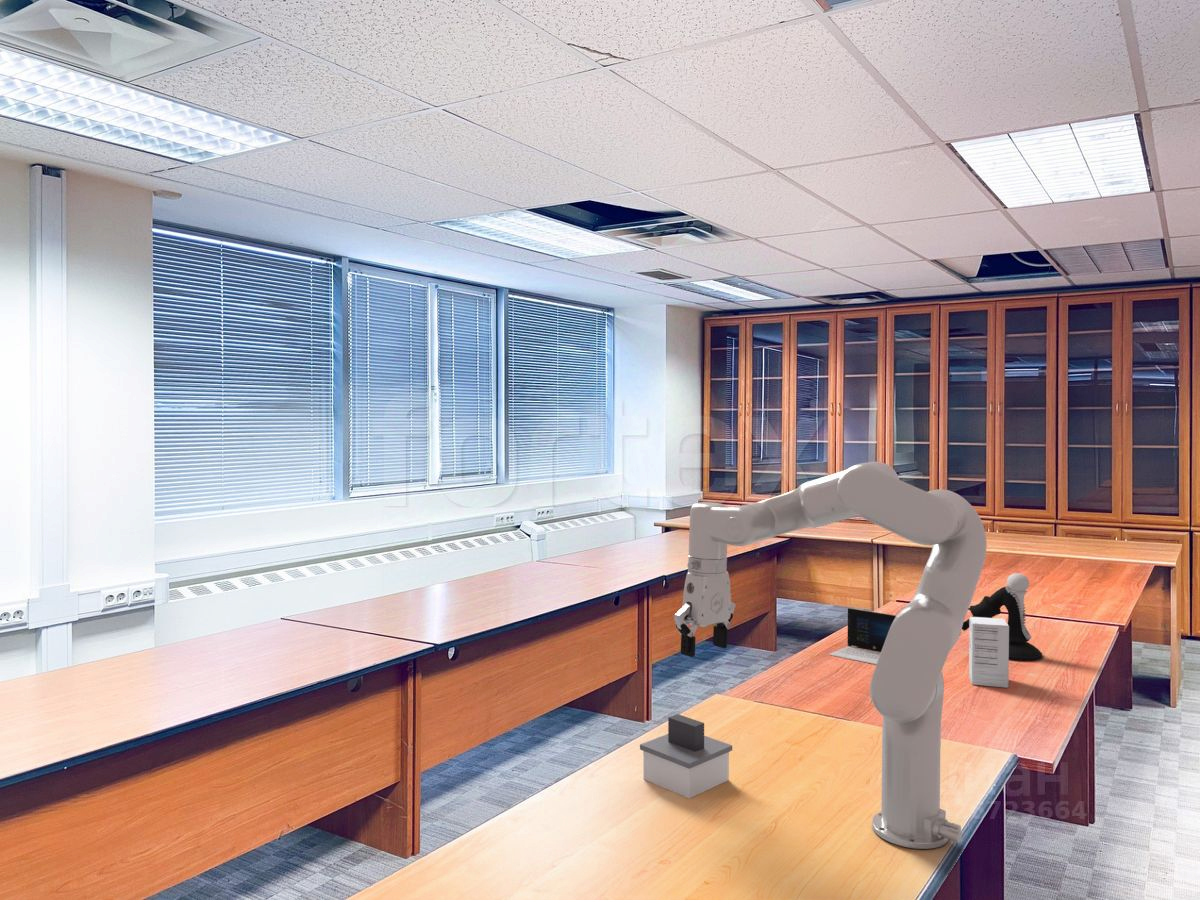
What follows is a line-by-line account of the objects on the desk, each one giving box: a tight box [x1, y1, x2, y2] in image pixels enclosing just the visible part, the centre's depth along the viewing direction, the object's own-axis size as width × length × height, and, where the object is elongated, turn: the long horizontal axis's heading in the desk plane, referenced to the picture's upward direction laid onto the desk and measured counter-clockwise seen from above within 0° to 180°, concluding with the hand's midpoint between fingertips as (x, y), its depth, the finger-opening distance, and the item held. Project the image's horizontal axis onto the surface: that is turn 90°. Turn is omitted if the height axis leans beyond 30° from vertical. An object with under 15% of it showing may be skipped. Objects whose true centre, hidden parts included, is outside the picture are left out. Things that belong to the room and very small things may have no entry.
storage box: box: [643, 751, 730, 799], centre depth 169 cm, size 12×12×6 cm
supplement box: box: [968, 616, 1010, 689], centre depth 231 cm, size 10×9×17 cm
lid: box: [639, 713, 733, 769], centre depth 169 cm, size 13×13×6 cm
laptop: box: [828, 607, 897, 666], centre depth 257 cm, size 18×12×13 cm
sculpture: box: [961, 572, 1043, 662], centre depth 261 cm, size 15×24×25 cm, turn 49°
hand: (704, 650), depth 168 cm, fingers open, 9 cm apart
